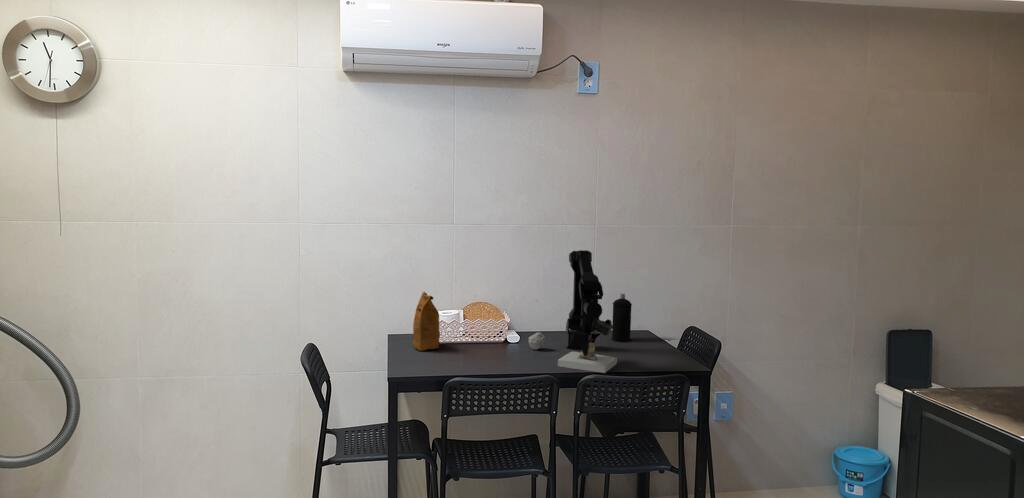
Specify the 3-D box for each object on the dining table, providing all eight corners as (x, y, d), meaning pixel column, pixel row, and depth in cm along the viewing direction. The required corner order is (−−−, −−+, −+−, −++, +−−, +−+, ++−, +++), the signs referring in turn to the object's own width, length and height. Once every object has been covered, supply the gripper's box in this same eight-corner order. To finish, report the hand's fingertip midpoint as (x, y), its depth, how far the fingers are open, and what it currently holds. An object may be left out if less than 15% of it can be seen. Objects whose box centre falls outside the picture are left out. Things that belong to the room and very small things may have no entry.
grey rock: (542, 352, 283) (542, 334, 282) (525, 350, 285) (525, 333, 285) (546, 348, 289) (547, 331, 288) (530, 347, 291) (530, 330, 290)
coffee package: (434, 343, 295) (434, 290, 292) (441, 350, 283) (441, 295, 281) (410, 344, 292) (410, 291, 289) (416, 352, 280) (416, 296, 277)
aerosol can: (618, 343, 300) (620, 296, 298) (607, 338, 308) (608, 292, 306) (634, 341, 304) (636, 294, 302) (623, 337, 312) (624, 291, 309)
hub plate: (557, 366, 263) (558, 359, 263) (571, 357, 275) (571, 351, 275) (604, 372, 255) (605, 366, 255) (616, 363, 268) (616, 357, 267)
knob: (597, 360, 266) (598, 343, 265) (593, 363, 262) (593, 345, 261) (582, 357, 268) (583, 341, 268) (578, 360, 264) (578, 343, 263)
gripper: (601, 319, 251) (600, 363, 253) (617, 310, 268) (616, 351, 270) (572, 316, 256) (571, 359, 258) (589, 307, 273) (588, 348, 275)
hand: (587, 354), depth 265 cm, fingers closed on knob, 5 cm apart
